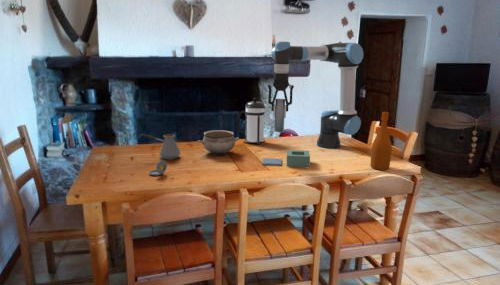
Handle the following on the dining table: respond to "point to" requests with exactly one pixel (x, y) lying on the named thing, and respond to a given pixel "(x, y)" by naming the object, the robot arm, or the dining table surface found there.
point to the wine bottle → (381, 147)
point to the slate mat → (271, 161)
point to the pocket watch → (159, 167)
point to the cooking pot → (218, 141)
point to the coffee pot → (167, 146)
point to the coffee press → (253, 122)
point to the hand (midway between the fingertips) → (279, 117)
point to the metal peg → (279, 115)
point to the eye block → (298, 158)
